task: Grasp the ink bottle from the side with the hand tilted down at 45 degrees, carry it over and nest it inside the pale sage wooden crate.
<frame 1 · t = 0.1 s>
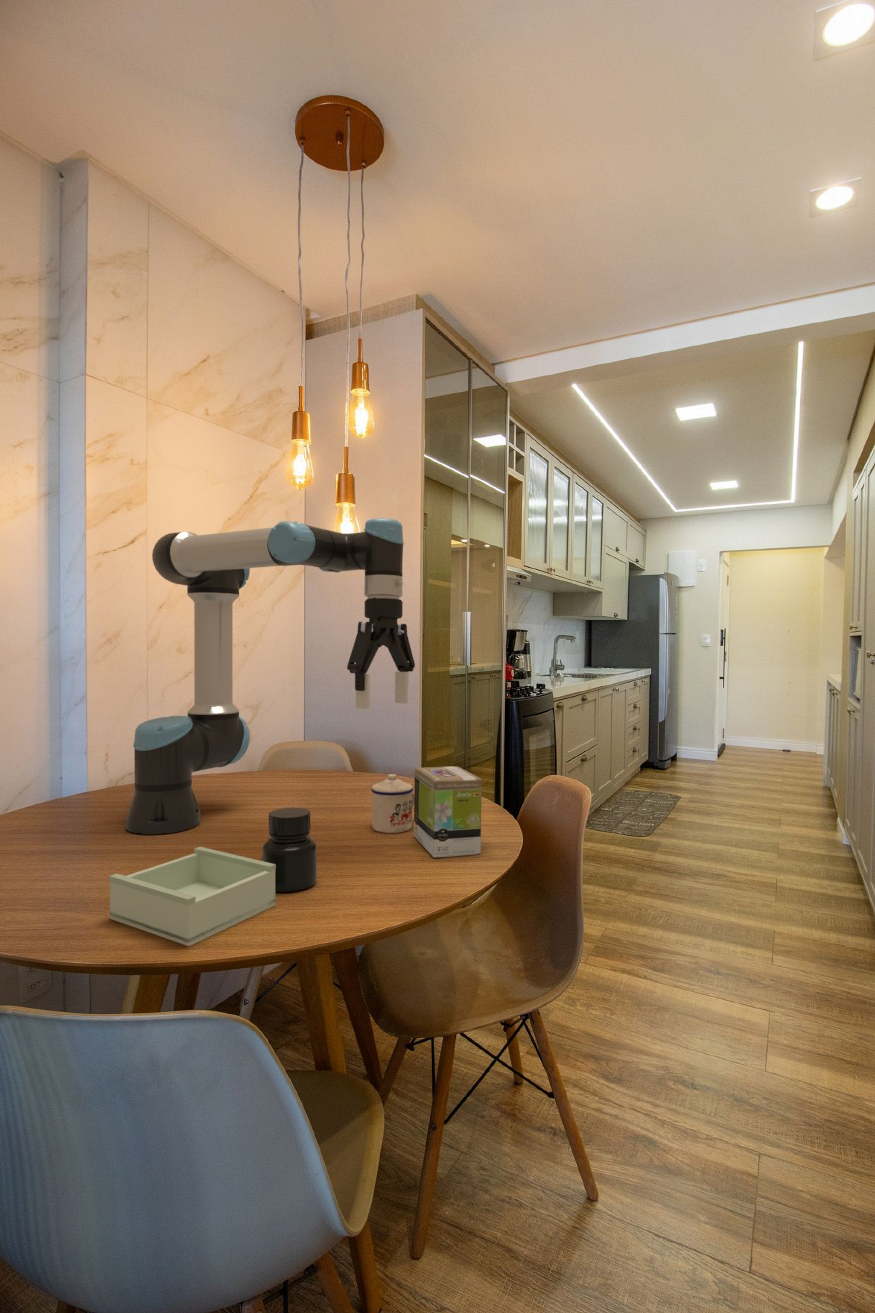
hand: (382, 705, 131), 28 cm above the table, tool pointing down, fingers open, 13 cm apart
teacup with lid: (396, 827, 145), on the table
tea box: (446, 846, 132), on the table
crate: (194, 912, 99), on the table
ink bottle: (289, 885, 111), on the table
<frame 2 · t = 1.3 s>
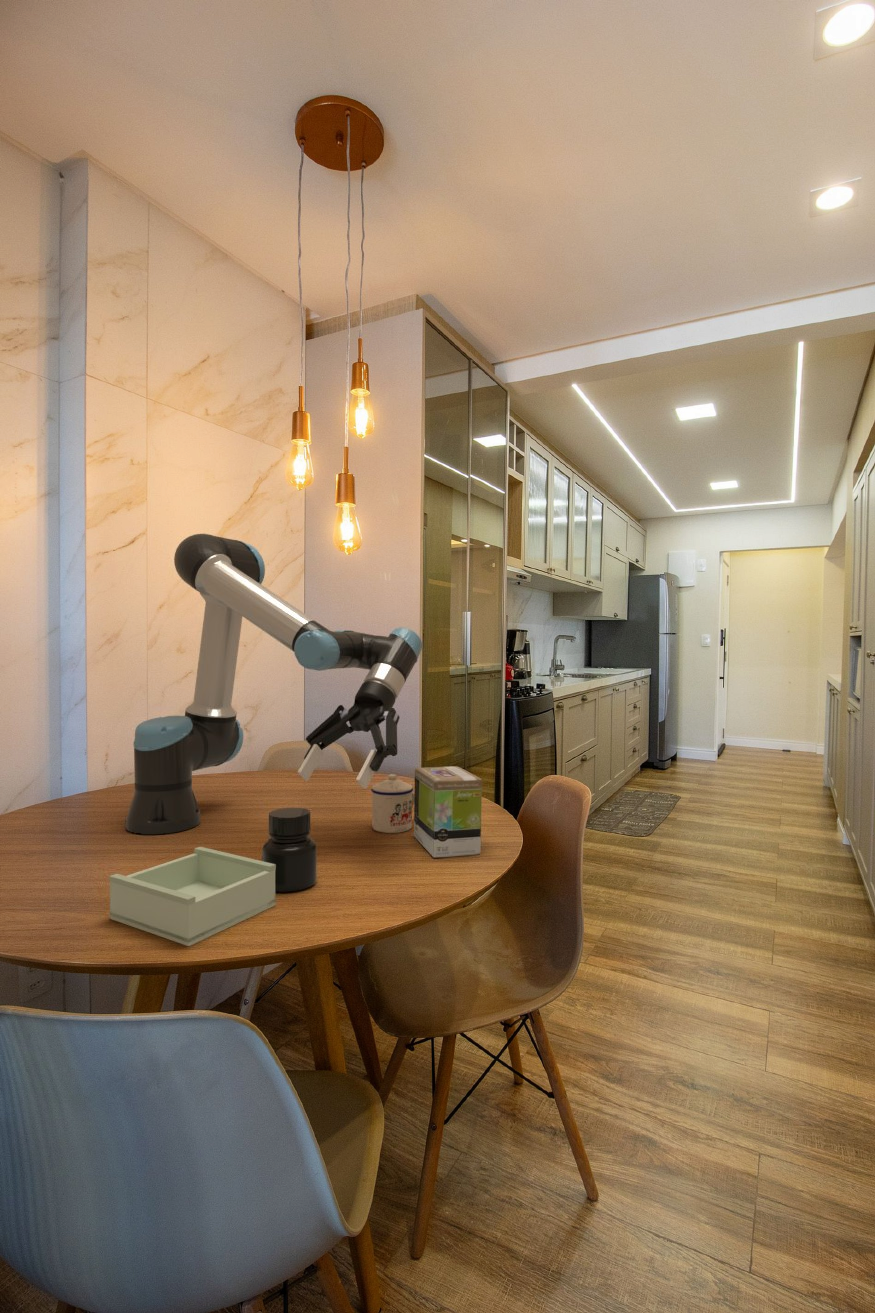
hand: (330, 780, 119), 15 cm above the table, tool tilted 45°, fingers open, 13 cm apart
nothing on the table moved.
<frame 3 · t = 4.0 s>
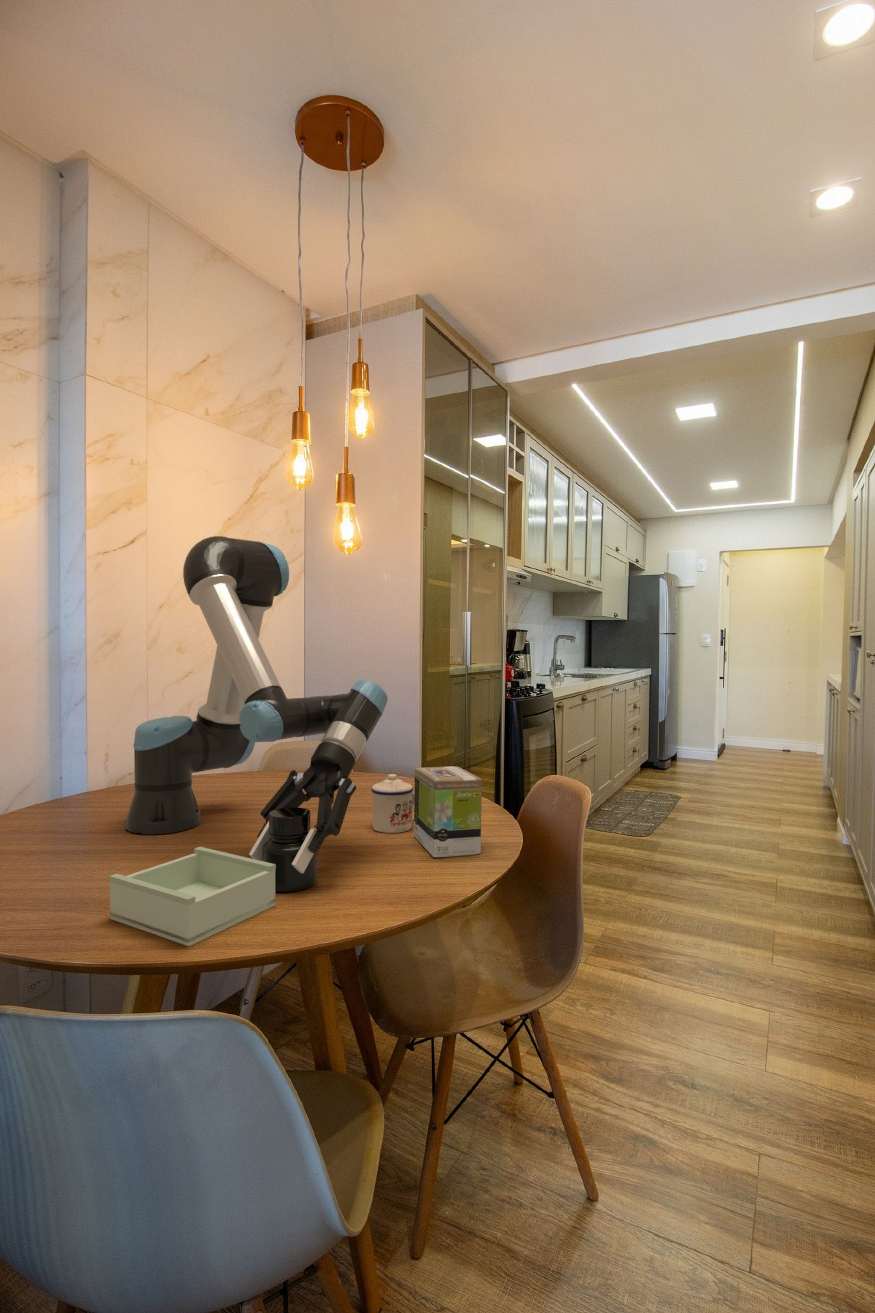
hand: (275, 863, 108), 4 cm above the table, tool tilted 45°, fingers closed on ink bottle, 9 cm apart
ink bottle: (289, 885, 110), on the table, touching gripper
everything else where it was.
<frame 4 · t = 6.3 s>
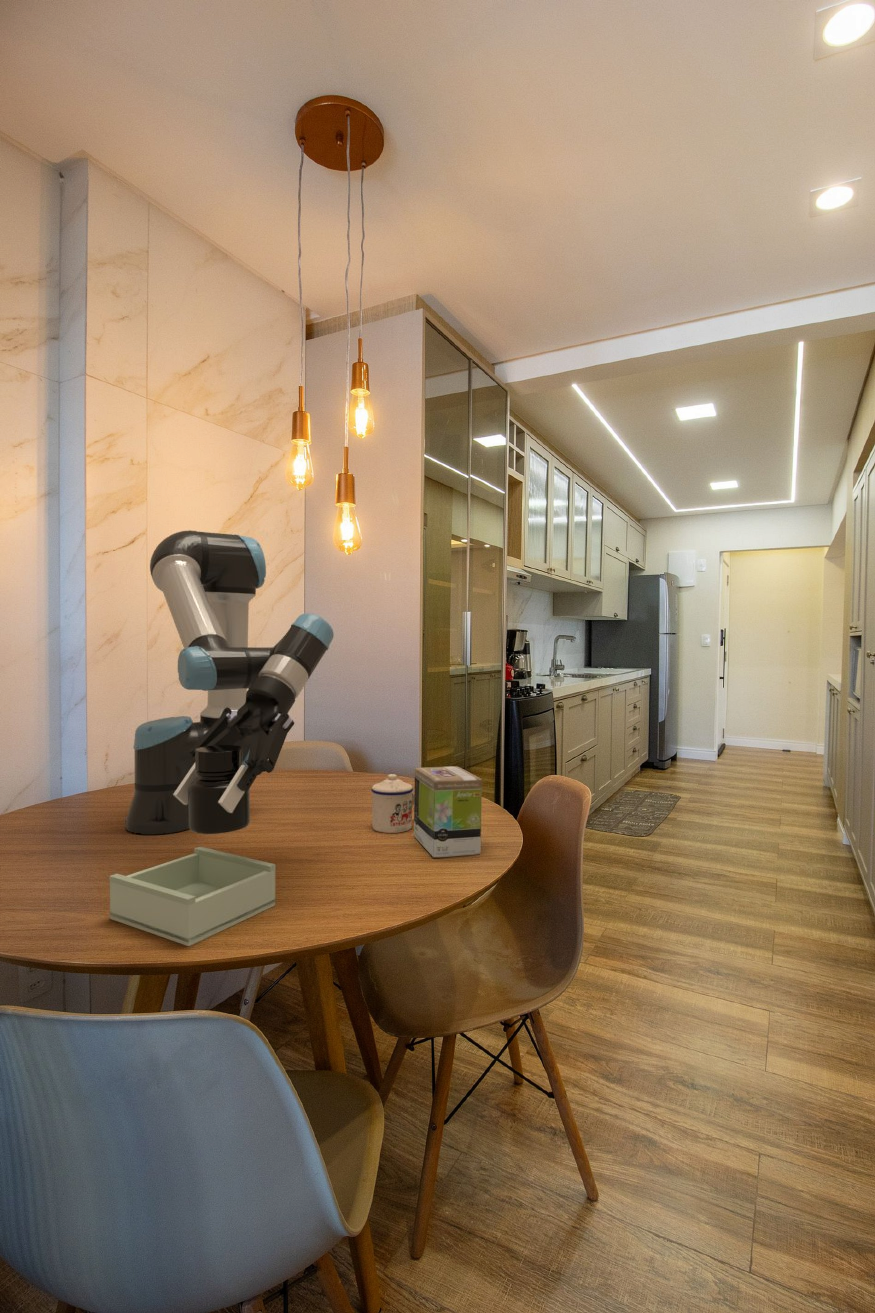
hand: (202, 803, 97), 17 cm above the table, tool tilted 45°, fingers closed on ink bottle, 9 cm apart
ink bottle: (219, 828, 100), point 12 cm above the table, touching gripper
everything else where it was.
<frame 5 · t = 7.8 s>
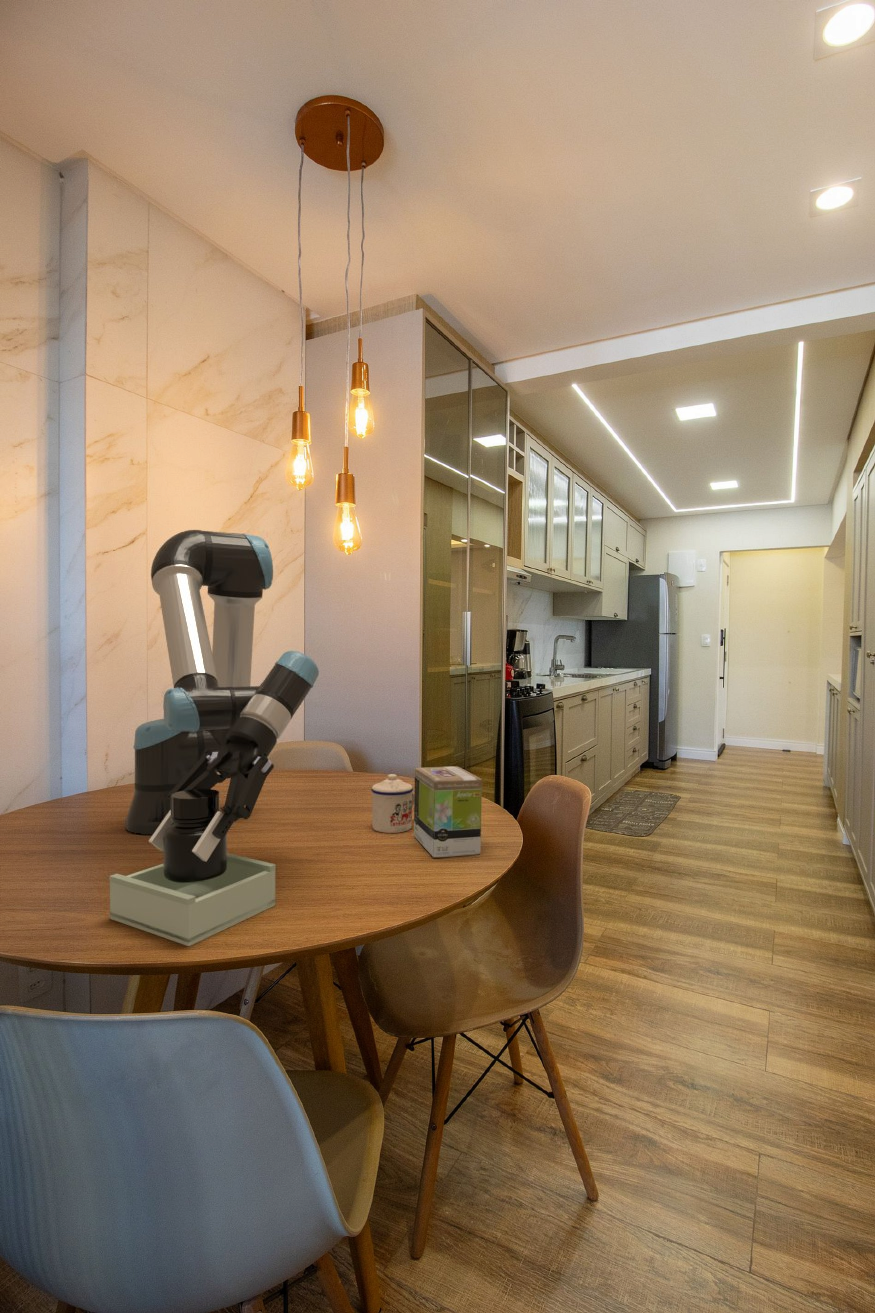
hand: (177, 851, 95), 10 cm above the table, tool tilted 45°, fingers closed on ink bottle, 9 cm apart
ink bottle: (195, 875, 98), point 6 cm above the table, touching gripper
everything else where it was.
when the fingers open (7 cm above the table, at t = 8.8 s): ink bottle drops 2 cm, resting on crate.
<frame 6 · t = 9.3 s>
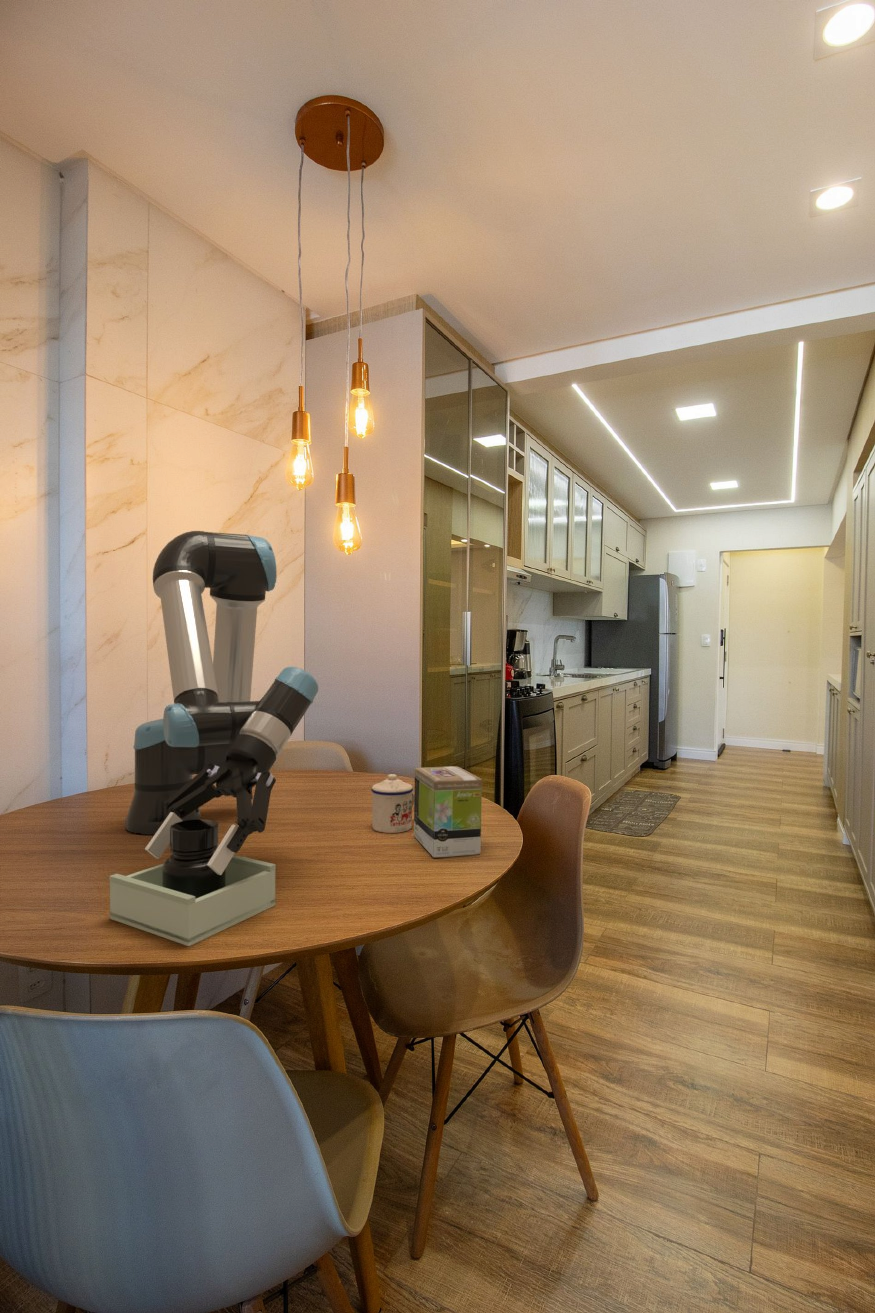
hand: (181, 862, 97), 8 cm above the table, tool tilted 45°, fingers open, 13 cm apart
ink bottle: (194, 906, 99), point 1 cm above the table, touching crate
everything else where it was.
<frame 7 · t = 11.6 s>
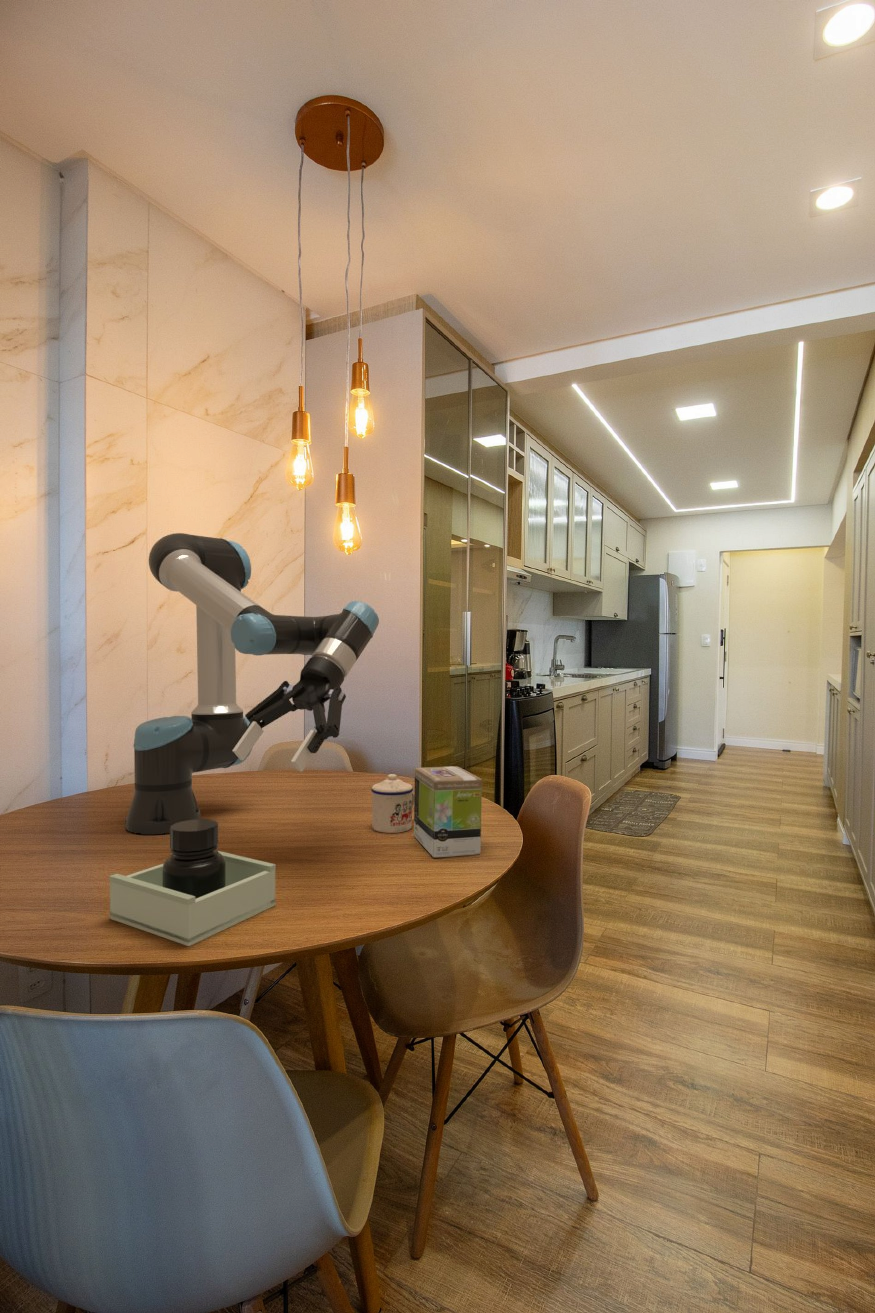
hand: (266, 761, 111), 20 cm above the table, tool tilted 45°, fingers open, 13 cm apart
nothing on the table moved.
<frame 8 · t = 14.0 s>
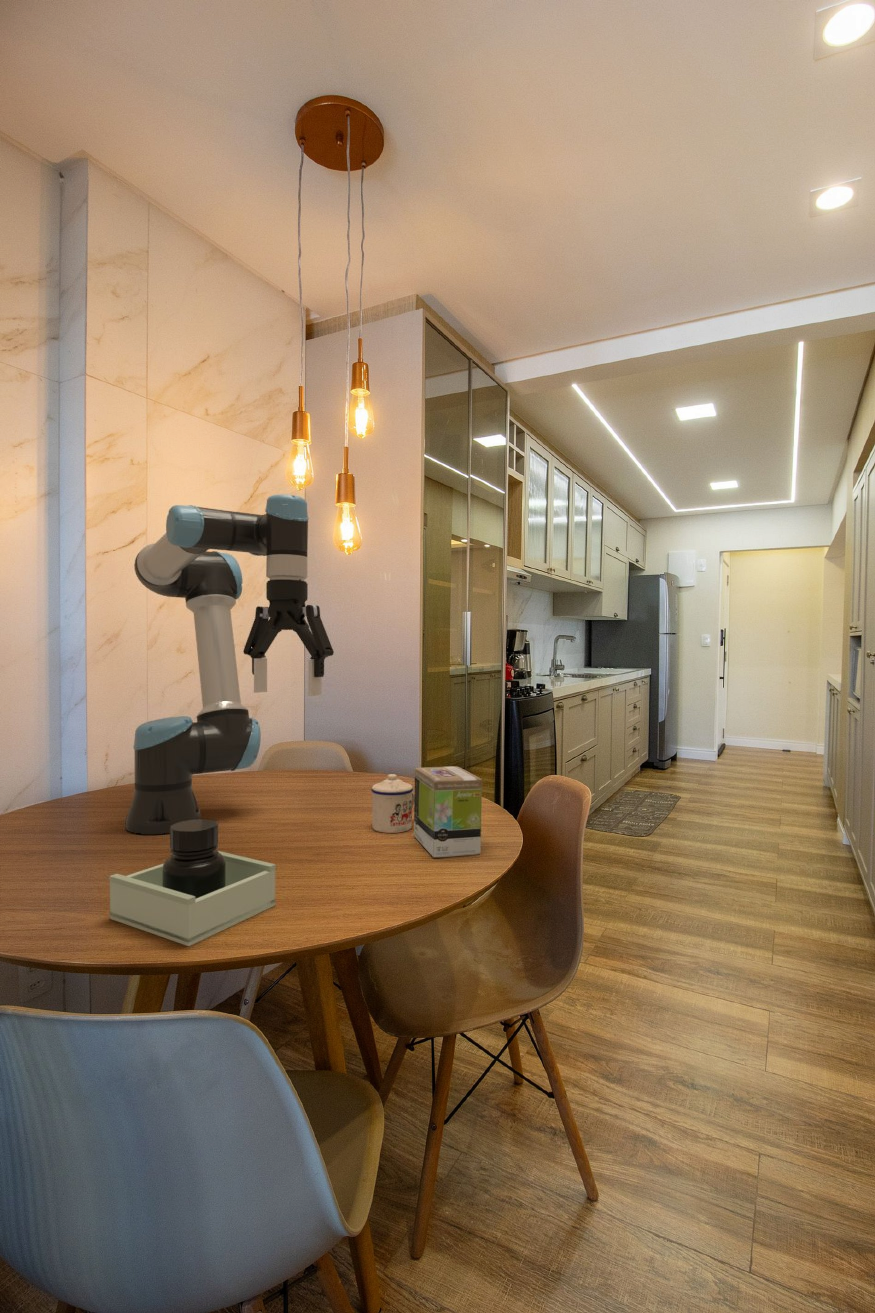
hand: (287, 694, 124), 31 cm above the table, tool pointing down, fingers open, 13 cm apart
nothing on the table moved.
at the end: ink bottle inside the target area on the crate (0.2 cm from its centre), point 0.8 cm above the crate's base; ink bottle tilted 0°; the gripper is holding nothing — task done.
